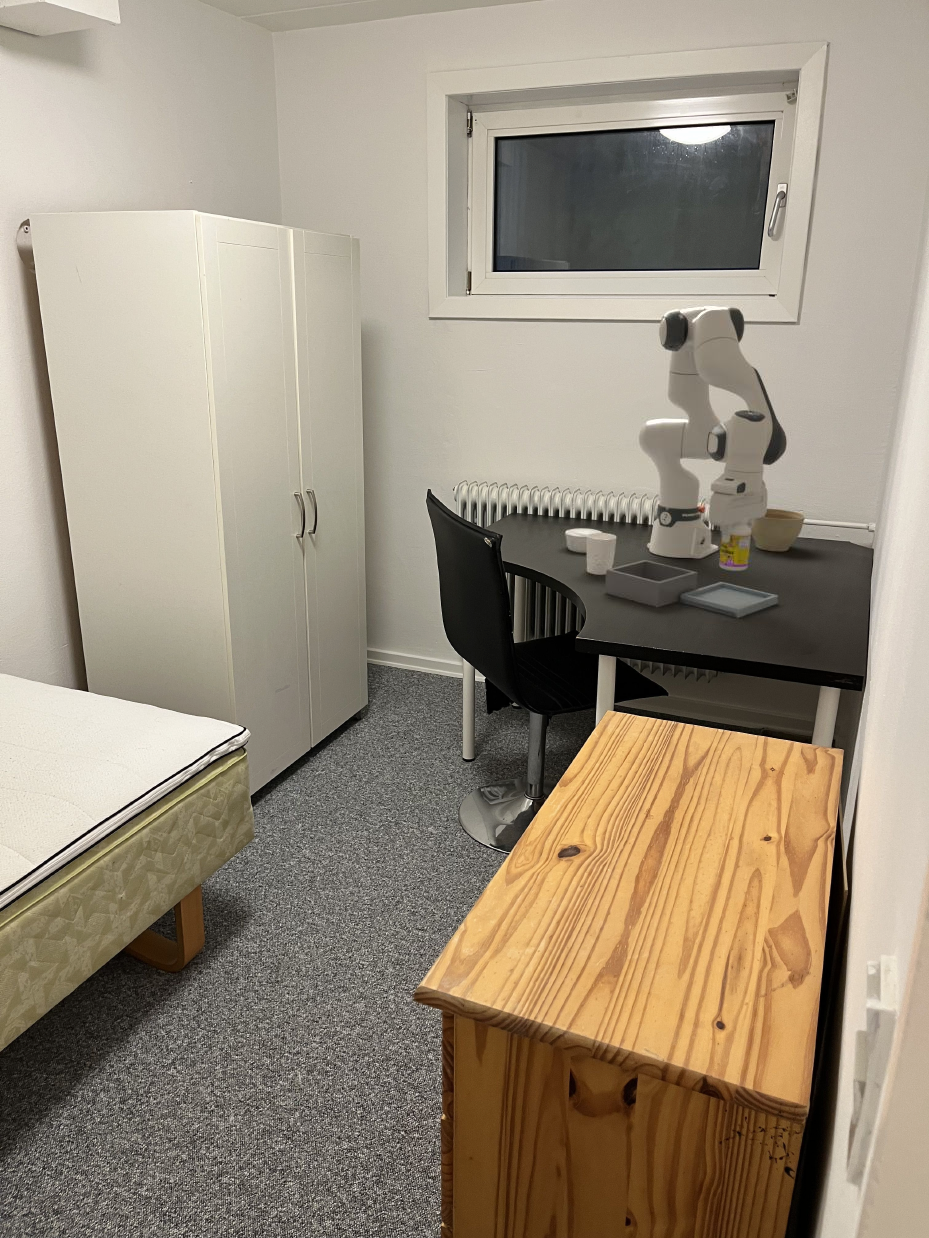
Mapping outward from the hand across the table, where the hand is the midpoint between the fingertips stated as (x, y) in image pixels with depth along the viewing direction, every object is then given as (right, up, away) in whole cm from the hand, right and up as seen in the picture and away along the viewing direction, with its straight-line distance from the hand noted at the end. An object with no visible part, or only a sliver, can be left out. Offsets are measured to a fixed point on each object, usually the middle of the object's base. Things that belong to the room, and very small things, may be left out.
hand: (735, 539), depth 218 cm
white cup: (-28, -6, +31) cm, 42 cm away
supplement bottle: (0, -7, +2) cm, 7 cm away
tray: (0, -15, +5) cm, 16 cm away
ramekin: (-29, +2, +56) cm, 63 cm away
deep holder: (-18, -13, +11) cm, 25 cm away
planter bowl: (+30, +2, +61) cm, 68 cm away
